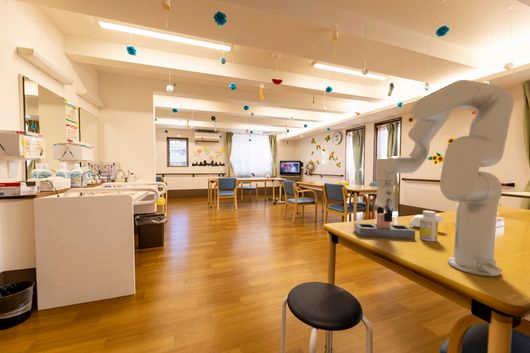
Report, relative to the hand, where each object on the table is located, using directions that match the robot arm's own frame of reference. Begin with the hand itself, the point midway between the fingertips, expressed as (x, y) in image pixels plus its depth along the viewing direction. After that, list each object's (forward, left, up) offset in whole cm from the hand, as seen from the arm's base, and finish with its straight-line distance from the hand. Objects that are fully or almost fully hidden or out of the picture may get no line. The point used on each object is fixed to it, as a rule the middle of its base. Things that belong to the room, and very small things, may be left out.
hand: (384, 219), depth 108 cm
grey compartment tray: (0, 0, -8) cm, 8 cm away
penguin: (+17, -27, -8) cm, 33 cm away
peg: (0, 0, -8) cm, 8 cm away
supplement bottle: (-4, -18, -8) cm, 20 cm away
